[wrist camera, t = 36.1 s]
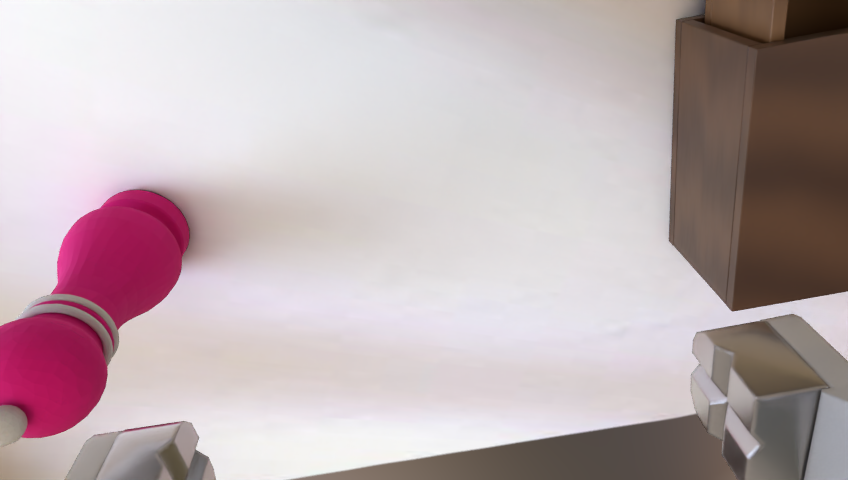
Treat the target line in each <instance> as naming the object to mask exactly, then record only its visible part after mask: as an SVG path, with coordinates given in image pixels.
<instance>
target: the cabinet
mask: <svg viewBox="0 0 848 480" xmlns="http://www.w3.org/2000/svg"><path fill="white" fill-rule="evenodd" d="M669 241H670V242H671V243H672V245H674V247H675V248H676V249H677V250H678V251H679V252H680V253H681V254H682V256H683V257H684V258H685V259H686V260H687V261H688V262H689V263H690V265H691V266H692V267H693V268H694V269H695V270H696V271H697V272H698V274H699V275H700V276H701V277H702V278H703V279H704V280H705V281H706V283H707V284H708V285H709V286H710V287H711V288H712V289H713V290H714V292H715V293H716V294H717V295H718V296H719V297H720V298H721V299H722V301H723V302H724V303H725V304H726V305H727V306H728V308H729V309H730V310H731V311H738V310H744V309H750V308H756V307H761V306H767V305H773V304H778V303H784V302H790V301H795V300H801V299H807V298H812V297H818V296H824V295H830V294H835V293H841V292H847V291H848V28H847V29H841V30H836V31H830V32H825V33H819V34H814V35H808V36H803V37H797V38H792V39H786V40H781V41H775V42H770V43H764V44H762V43H759V42H756V41H753V40H750V39H747V38H744V37H742V36H739V35H736V34H733V33H730V32H727V31H724V30H721V29H718V28H716V27H713V26H710V25H707V24H705V15H699V16H694V17H688V18H683V19H677V20H676V40H675V72H674V104H673V135H672V167H671V198H670V230H669Z"/></svg>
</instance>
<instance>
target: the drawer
mask: <svg viewBox="0 0 848 480" xmlns="http://www.w3.org/2000/svg"><path fill="white" fill-rule="evenodd" d="M705 24H707V25H710V26H713V27H716V28H718V29H721V30H724V31H727V32H730V33H733V34H736V35H739V36H742V37H744V38H747V39H750V40H753V41H756V42H759V43H762V44H764V43H770V42H775V41H781V40H786V39H792V38H797V37H803V36H808V35H814V34H819V33H825V32H830V31H836V30H841V29H847V28H848V0H706V7H705Z"/></svg>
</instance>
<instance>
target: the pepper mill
mask: <svg viewBox="0 0 848 480" xmlns="http://www.w3.org/2000/svg"><path fill="white" fill-rule="evenodd" d="M188 243H189V228H188V225H187V221H186V219H185V217H184V216H183V214H182V213H181V211H180V210H179V209H178V208H177V207H176V206H175V205H174V204H173V203H172V202H170V201H169V200H167V199H166V198H164V197H162V196H160V195H158V194H155V193H152V192H148V191H143V190H129V191H124V192H121V193H118V194H116V195H114V196H112V197H111V198H110V199H108V200H107V201H106V202H105V203H104V205H103V206H102V207H101V208H100V209H97V210H94V211H92V212H90V213H88V214H86V215H84V216H83V217H81V218H80V219H79V220H78V221H77V222H76V223H75V224H74V225H73V226H72V228H71V229H70V230H69V232H68V233H67V235H66V236H65V238H64V240H63V243H62V246H61V248H60V252H59V257H58V261H57V274H58V284H57V286H56V287H55V289H54V290H53V292H52V293H51V295H47V296H43V297H41V298H38V299H36V300H35V301H33V302H31V303H30V304H29V305H28V306H27V307H26V308H25V309H24V311H23V313H22V314H20V315H19V316H18V317H17V318H16V320H15V321H12V322H9V323H6V324H4V325H2V326H0V446H6V445H9V444H12V443H14V442H16V441H17V440H18V439H20V438H21V437H24V438H42V437H47V436H52V435H55V434H58V433H61V432H64V431H66V430H68V429H70V428H72V427H74V426H75V425H76V424H77V423H79V422H80V421H81V420H83V419H84V418H85V417H86V416H87V415H88V414H89V413H90V412H91V411H92V409H93V408H94V407H95V406H96V405H97V403H98V402H99V400H100V398H101V396H102V394H103V392H104V389H105V387H106V381H107V366H108V364H109V363H110V361H111V358H112V357H113V356H114V354H115V353H116V351H117V348H118V344H119V334H118V329H119V328H120V327H121V326H122V325H123V324H124V323H125V322H127V321H128V320H130V319H132V318H134V317H136V316H138V315H140V314H142V313H145V312H147V311H149V310H150V309H152V308H153V307H154V306H156V305H157V304H158V303H160V302H161V301H162V300H163V299H164V298H165V297H166V296H167V295H168V294H169V292H170V291H171V290H172V288H173V287H174V286H175V284H176V282H177V281H178V278H179V275H180V272H181V266H182V256H183V254H184V252H185V251H186V249H187V246H188Z"/></svg>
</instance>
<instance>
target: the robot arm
mask: <svg viewBox="0 0 848 480" xmlns="http://www.w3.org/2000/svg"><path fill="white" fill-rule="evenodd" d="M692 353H693V354H694V356H695V357H696V359H697V360H698V362H699V363H700V364H699V365H698V366H697V367H696V369H695V370H694V371H693V372H692V374H691V394H692V399H693V404H694V408H695V410H696V412H697V415H698V417H699V419H700V421H701V423H702V425H703V426H704V428H705V429H706V431H707V433H709V434H711V435H713V436H714V437H716V438H718V439H720V440H722V441H723V447H722V456H723V458H724V459H725V461H726V463H727V464H728V466H729V467H730V469H731V470H732V472H733V473H734V475H735V476H736V478H737V480H848V361H847V360H846V359H845V358H844V357H843V356H842V355H841V354H840V353H839V352H837V351H836V350H835V349H834V348H833V347H832V346H831V345H830V344H829V343H828V342H827V341H826V340H825V339H824V338H823V337H822V336H821V335H819V334H818V333H817V332H816V331H815V330H814V329H813V328H812V327H811V326H810V325H809V324H808V323H807V322H806V321H805V320H804V319H803V318H801V317H799V316H797V315H794V314H790V315H785V316H779V317H774V318H769V319H764V320H760V321H757V322H751V323H745V324H740V325H734V326H729V327H723V328H717V329H712V330H706V331H701V332H697V333H696V335H695V337H694V339H693V349H692ZM198 440H199V436H198V434H197V432H196V431H195V429H194V427H193V425H192V423H190V422H186V421H181V422H174V423H167V424H161V425H154V426H147V427H141V428H134V429H127V430H124V431H118V432H111V433H104V434H98V435H94V436H92V437H91V438H90V439H88V440H87V441H86V442H85V444H84V445H83V447H82V449H81V451H80V453H79V454H78V456H77V458H76V460H75V462H74V463H73V465H72V467H71V469H70V471H69V472H68V474H67V476H66V478H65V480H216V478H215V473H214V468H213V466H212V464H211V462H210V459H209V457H207V456H205V455H204V454H202V453H200V452H199V451H197V450H195V449H196V446H197V443H198Z"/></svg>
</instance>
